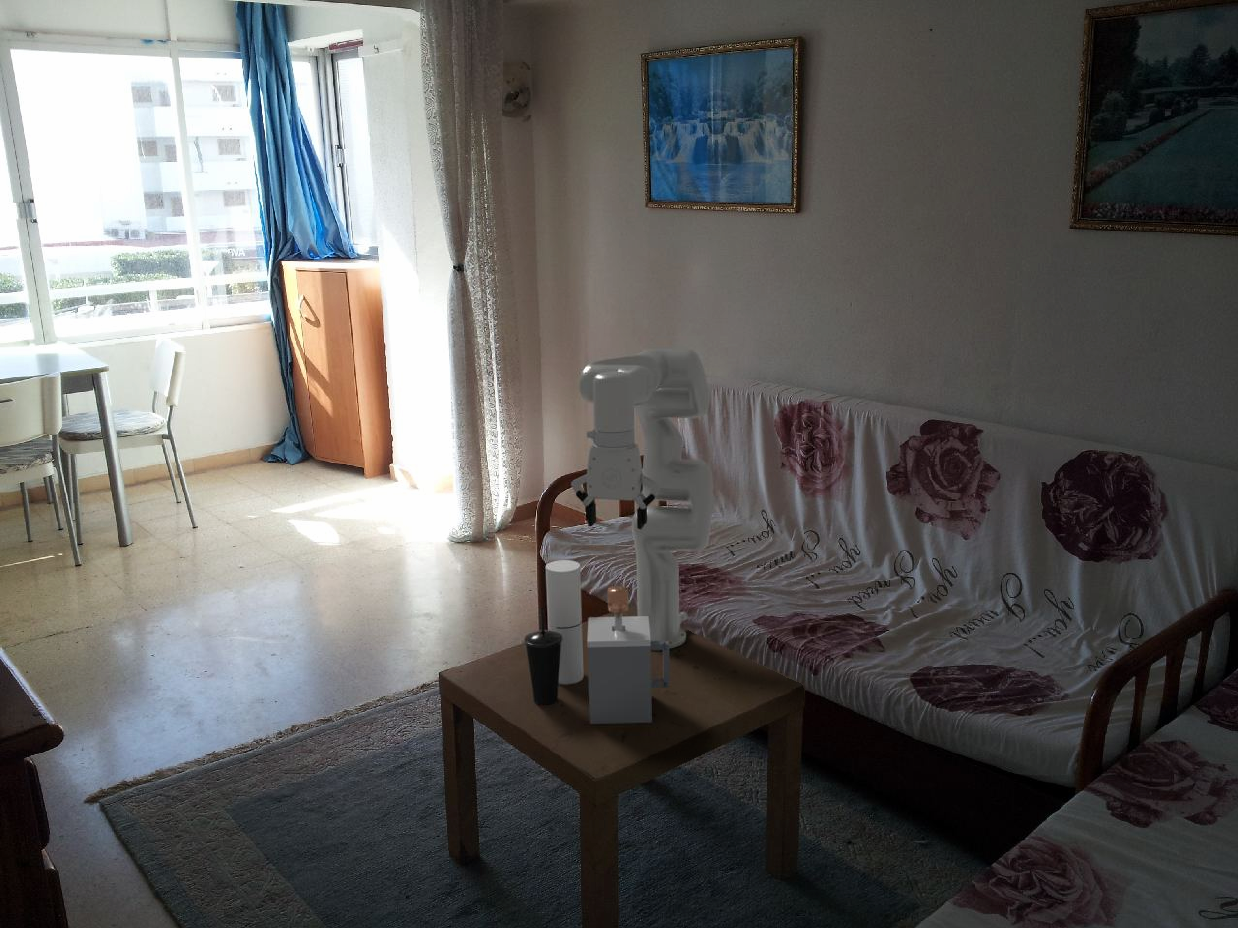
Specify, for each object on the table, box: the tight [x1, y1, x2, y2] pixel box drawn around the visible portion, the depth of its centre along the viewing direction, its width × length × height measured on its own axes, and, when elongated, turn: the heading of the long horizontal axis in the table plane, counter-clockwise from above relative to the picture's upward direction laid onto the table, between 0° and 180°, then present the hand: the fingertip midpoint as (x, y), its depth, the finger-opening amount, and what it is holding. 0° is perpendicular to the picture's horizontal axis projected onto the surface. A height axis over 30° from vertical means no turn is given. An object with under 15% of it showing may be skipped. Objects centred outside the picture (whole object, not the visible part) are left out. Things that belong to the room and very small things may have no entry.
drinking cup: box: [523, 607, 562, 707], centre depth 215 cm, size 8×8×20 cm
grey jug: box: [586, 615, 671, 725], centre depth 211 cm, size 16×12×17 cm
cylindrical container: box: [545, 559, 585, 685], centre depth 224 cm, size 7×7×25 cm
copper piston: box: [607, 585, 629, 631], centre depth 209 cm, size 9×9×23 cm
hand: (616, 525), depth 203 cm, fingers open, 9 cm apart
